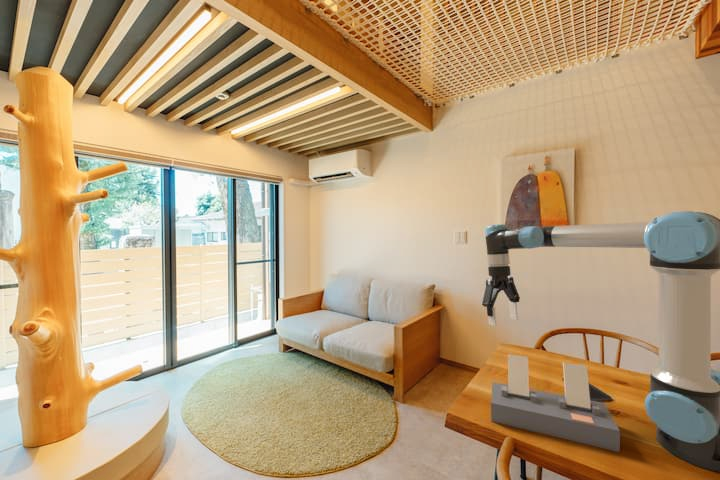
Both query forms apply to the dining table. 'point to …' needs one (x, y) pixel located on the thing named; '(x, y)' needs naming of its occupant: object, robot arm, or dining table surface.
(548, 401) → the switch unit
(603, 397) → the phone
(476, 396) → the dining table surface
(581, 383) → the lever
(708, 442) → the robot arm
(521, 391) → the lever
